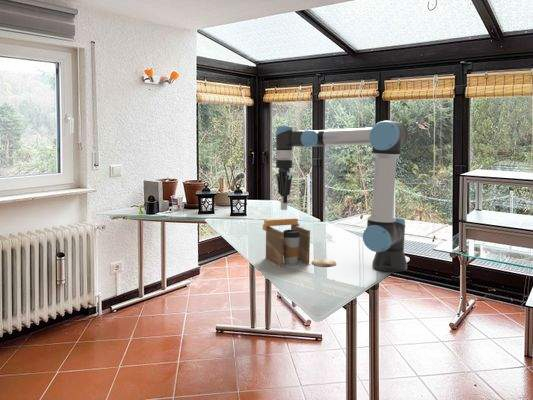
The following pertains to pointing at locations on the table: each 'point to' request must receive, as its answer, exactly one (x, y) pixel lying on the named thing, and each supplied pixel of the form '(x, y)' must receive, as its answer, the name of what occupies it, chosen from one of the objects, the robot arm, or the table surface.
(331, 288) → the table surface
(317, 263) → the coaster
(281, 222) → the orange notched bar
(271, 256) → the cradle
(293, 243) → the coffee cup
